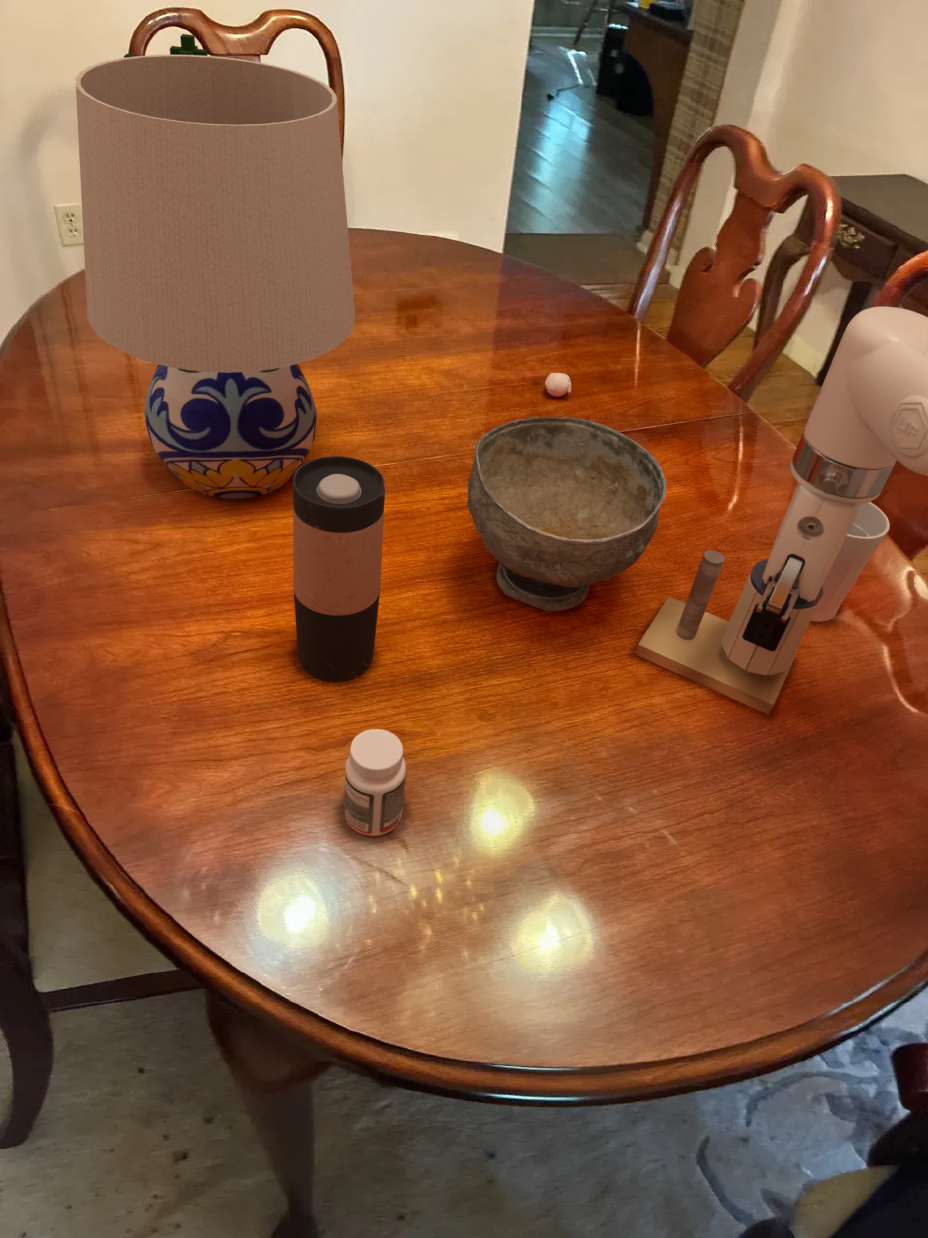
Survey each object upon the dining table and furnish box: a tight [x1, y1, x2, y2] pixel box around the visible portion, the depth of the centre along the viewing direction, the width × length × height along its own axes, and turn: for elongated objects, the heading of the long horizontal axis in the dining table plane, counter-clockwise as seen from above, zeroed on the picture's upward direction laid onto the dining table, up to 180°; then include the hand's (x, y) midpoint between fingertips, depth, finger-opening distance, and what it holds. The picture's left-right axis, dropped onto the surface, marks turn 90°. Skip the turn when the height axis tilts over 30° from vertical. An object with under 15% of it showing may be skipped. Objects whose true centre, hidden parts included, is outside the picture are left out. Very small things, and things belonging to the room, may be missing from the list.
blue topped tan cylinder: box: [721, 558, 823, 676], centre depth 88 cm, size 7×7×9 cm
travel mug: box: [292, 455, 386, 683], centre depth 81 cm, size 8×8×20 cm
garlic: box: [544, 372, 572, 398], centre depth 129 cm, size 5×3×5 cm
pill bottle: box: [343, 728, 407, 837], centre depth 73 cm, size 5×5×8 cm
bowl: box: [466, 416, 668, 612], centre depth 94 cm, size 20×19×15 cm
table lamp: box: [75, 54, 356, 500], centre depth 96 cm, size 27×27×40 cm
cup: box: [810, 501, 891, 623], centre depth 98 cm, size 8×8×12 cm
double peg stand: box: [634, 549, 798, 716], centre depth 90 cm, size 14×9×12 cm, turn 60°
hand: (770, 619), depth 88 cm, fingers closed on blue topped tan cylinder, 7 cm apart
